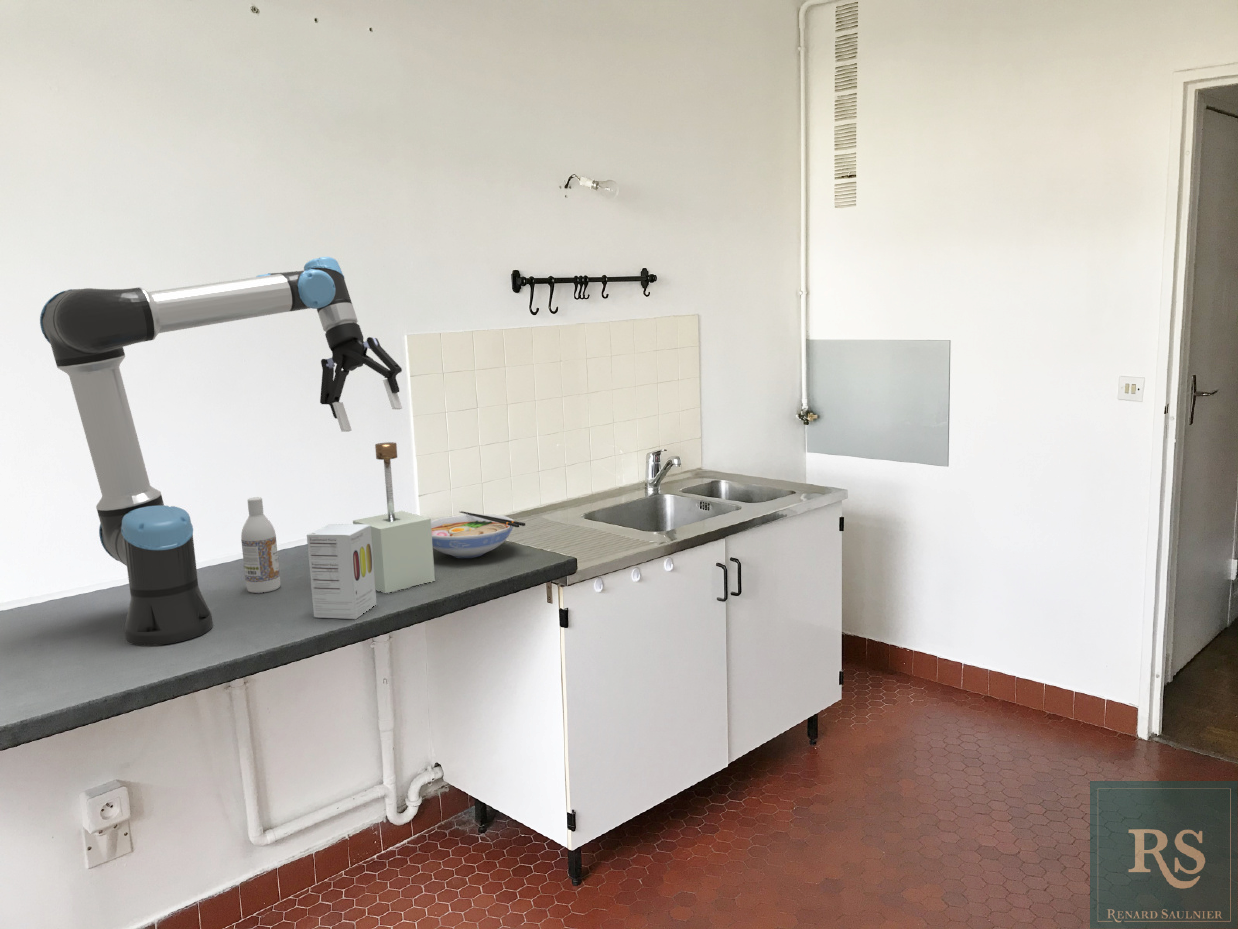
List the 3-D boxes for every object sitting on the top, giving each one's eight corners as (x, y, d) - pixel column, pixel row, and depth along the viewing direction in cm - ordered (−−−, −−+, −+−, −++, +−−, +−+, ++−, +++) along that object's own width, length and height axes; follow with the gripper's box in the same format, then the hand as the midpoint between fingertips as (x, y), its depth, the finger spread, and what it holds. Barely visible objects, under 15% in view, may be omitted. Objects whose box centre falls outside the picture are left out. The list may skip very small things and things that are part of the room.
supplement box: (356, 620, 187) (349, 535, 184) (312, 618, 189) (304, 534, 186) (378, 604, 196) (371, 523, 193) (336, 603, 198) (329, 522, 195)
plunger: (383, 537, 203) (376, 448, 199) (362, 530, 209) (355, 444, 206) (422, 528, 209) (416, 443, 205) (400, 522, 215) (394, 439, 212)
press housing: (385, 594, 203) (380, 529, 200) (358, 583, 212) (352, 520, 209) (434, 581, 211) (430, 518, 208) (406, 571, 219) (402, 510, 217)
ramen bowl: (399, 555, 234) (397, 522, 232) (478, 537, 249) (477, 505, 247) (456, 574, 215) (454, 539, 214) (538, 554, 230) (536, 520, 229)
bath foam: (275, 593, 206) (265, 501, 203) (242, 594, 206) (232, 502, 203) (284, 583, 213) (276, 494, 210) (253, 584, 213) (243, 495, 210)
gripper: (397, 307, 209) (428, 399, 207) (307, 350, 217) (336, 439, 216) (377, 303, 202) (409, 398, 200) (285, 348, 210) (315, 440, 209)
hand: (371, 420), depth 208 cm, fingers open, 13 cm apart
